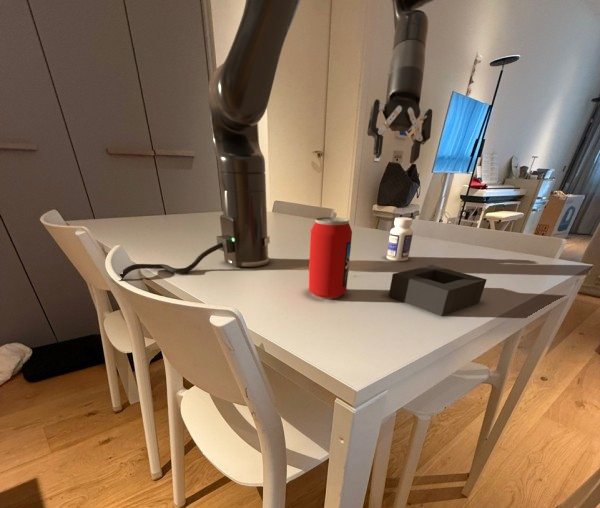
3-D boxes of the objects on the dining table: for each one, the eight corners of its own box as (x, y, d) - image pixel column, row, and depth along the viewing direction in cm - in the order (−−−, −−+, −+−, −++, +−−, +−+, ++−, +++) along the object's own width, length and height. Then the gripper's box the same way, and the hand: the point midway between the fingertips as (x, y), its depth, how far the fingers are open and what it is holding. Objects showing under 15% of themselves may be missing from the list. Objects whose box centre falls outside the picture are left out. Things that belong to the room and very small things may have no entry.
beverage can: (353, 296, 60) (362, 221, 53) (322, 303, 57) (327, 224, 50) (331, 286, 64) (336, 215, 57) (301, 291, 61) (303, 217, 54)
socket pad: (441, 316, 53) (448, 290, 51) (388, 296, 60) (392, 273, 58) (479, 302, 58) (487, 279, 56) (426, 286, 65) (431, 264, 63)
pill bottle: (406, 256, 85) (413, 217, 80) (409, 261, 81) (417, 220, 76) (385, 255, 85) (391, 216, 80) (387, 260, 81) (394, 219, 76)
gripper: (381, 58, 70) (371, 147, 73) (444, 70, 72) (432, 156, 75) (369, 82, 77) (361, 162, 80) (427, 93, 79) (416, 170, 82)
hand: (395, 159), depth 78 cm, fingers open, 8 cm apart
